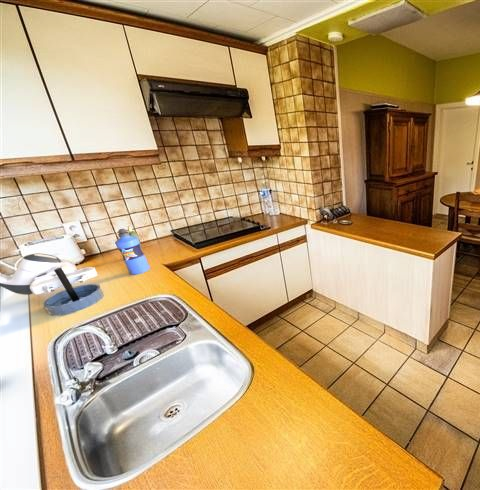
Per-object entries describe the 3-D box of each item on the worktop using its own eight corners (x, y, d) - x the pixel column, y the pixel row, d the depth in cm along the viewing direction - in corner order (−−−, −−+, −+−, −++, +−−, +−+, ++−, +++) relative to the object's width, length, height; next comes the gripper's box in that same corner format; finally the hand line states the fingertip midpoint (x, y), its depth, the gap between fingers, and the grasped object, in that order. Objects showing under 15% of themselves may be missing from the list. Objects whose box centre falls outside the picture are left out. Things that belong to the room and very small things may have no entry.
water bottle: (134, 268, 152) (115, 227, 142) (153, 265, 154) (136, 225, 144) (126, 276, 144) (105, 233, 133) (146, 273, 146) (127, 230, 136)
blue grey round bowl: (51, 324, 108) (43, 312, 106) (50, 308, 119) (42, 297, 116) (108, 303, 120) (102, 292, 118) (102, 290, 131) (96, 280, 128)
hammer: (70, 309, 116) (48, 273, 108) (69, 304, 119) (47, 269, 112) (87, 303, 119) (67, 268, 112) (86, 298, 123) (66, 264, 116)
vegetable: (138, 254, 170) (125, 225, 162) (146, 253, 172) (134, 224, 164) (136, 257, 167) (123, 227, 159) (144, 255, 168) (132, 226, 160)
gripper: (97, 272, 131) (102, 281, 123) (35, 291, 117) (35, 302, 109) (91, 261, 129) (95, 269, 120) (27, 279, 115) (27, 289, 106)
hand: (66, 285), depth 114 cm, fingers open, 8 cm apart
